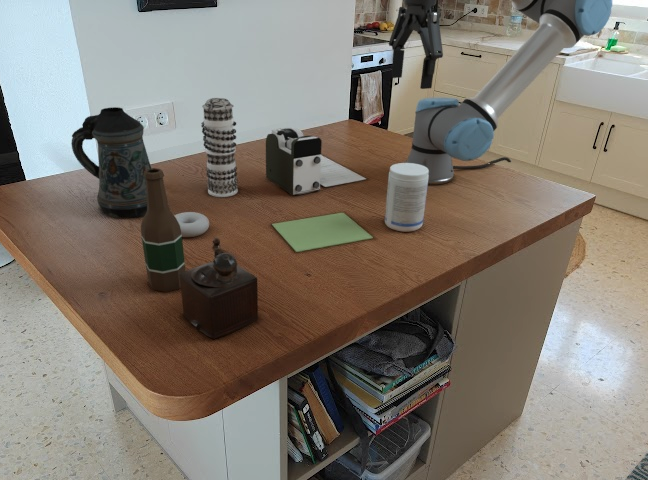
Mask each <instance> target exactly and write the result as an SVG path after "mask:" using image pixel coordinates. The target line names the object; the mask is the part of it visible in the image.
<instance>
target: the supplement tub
mask: <svg viewBox="0 0 648 480" xmlns="http://www.w3.org/2000/svg"><path fill="white" fill-rule="evenodd" d="M428 173H429V170H428V168H427V167H425V166H423V165H419V164H414V163H406V162H400V163H394V164H392V165H390V167H389V172H388V180H387V191H386V202H385V213H384V224H385V226H386V227H388V229H391V230H394V231H397V232H402V233H403V232H405V233H406V232H409V233H410V232H415V231H418V230H420V229H421V228H422V226H423V224H424V218H425V209H426V203H427V194H428V187H429V184H428V177H429V175H428Z"/></svg>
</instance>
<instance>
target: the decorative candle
mask: <svg viewBox="0 0 648 480" xmlns="http://www.w3.org/2000/svg"><path fill="white" fill-rule="evenodd" d="M201 107H202V108H203V121H202V122H201V123H200V124H201V125H200V126H201V129H202V130H201V133H202V134H203V136H202V141H203V147H204V153H206V169H205V171H206V177H207V179H206V183H207V185H206V187H207V193H208V194H209V195H210V196H212V197H216V198H217V197H218V198H227V197H228V198H229V197H232V196H235V195H236V194H238V192H239V189H238V187H239V185H238V178H237V176H238V172H237V170H238V167H237V165H236V164H237V163H236V159H235V152H236V151H237V148H236V146H237V143H236V142H235V141H234V140H236V139H237V135H235V134H236V133H237V129H235V128H234V127H235V126H237V122H236V121H235V120H234V116H233V108H234V104H232V103H231V102H230V99H229V100H228V99H227V98H224V97H211V98H209V99H207V100H206V101H205V102H204V104H203V105H202V106H201Z"/></svg>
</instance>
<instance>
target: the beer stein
mask: <svg viewBox="0 0 648 480" xmlns="http://www.w3.org/2000/svg"><path fill="white" fill-rule="evenodd" d="M81 125H82V126H81V127H79V128H78V129H76V130H75V131H73V133H72V135H71V137H72V138H71V143H70V144H71V149H72V153H73V155H74V157H75V158H76V160H77V162H78V163H79V165H81V166H82V167H83V168H84V169H85V170H86V171H87V172H88V173H89V174H91V175H92V176H94V177H95V178H97V179H99V180H98V181H99V183H98V185H99V186H98V191H97V195H96V200H97V203H98V205H99V207H100V210H101V211H102V213H103V215H106V216H108V217H110V218H115V219H135V218H140V217H144V216H145V214H146V212H147V192H146V179H145V177H144V176H143V175H144V171H146V170H147V169H152V168H153V167H152V166H151V163H150V159H149V155H148V151H147V148H146V144H145V142H144V138H143V136H144V128H145V127H144V125H143V124H142V123H141V122H140V121H139V120H138V119H136V118H134V117H133V116H130V115H129V114H128V113H126V111H124V108H122V107H119V106H116V107H114V106H113V107H105V108H102V109H100V112H99V113H98V114H95V115H88V116H87V117H86V118H85V119H84V120H83V123H82V124H81ZM93 139H95V141H96V142H97V155H98V156H97V158H98V165H97V164H96V163H95V162H94V161H92V160H91V159H90V158H89V156H88V155H87V154H86V152H85V150H84V147H83V144H84V141H85V140H86V141H89V140H90V141H91V140H93Z"/></svg>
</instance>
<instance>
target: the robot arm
mask: <svg viewBox="0 0 648 480" xmlns="http://www.w3.org/2000/svg"><path fill="white" fill-rule="evenodd" d="M509 2H511V6H512V7H513V8H514V9H515V10H517V11H518V12H520V13H521V14H523V15H524V16H526V17H528V18H529V19H531V20H533V21H534V22H535V23H537V24H538V27H537V28H536V29H535V31H533V32H532V34H531V35H530V36H529V37H528V38H527V40H525V41H524V43H523V44H522V45H521V46H520V47H519V48H518V49H517V50H516V51H515V52H514V54H513V55H512V56H511V57H509V59H507V61H506V62H505V63H504V65H502V67H500V69H499V70H498V71H497V72H496V73H495V74H494V75H493V76H492V77H491V78H490V79H489V80H488V81H487V83H486V84H485V85H484V86H483V87H482V88H481V90H479V91H478V93H477V94H476V95H475V96H473V97H466V98H464V100H463V101H461V103H460V101H459V99H458V98H454V97H426V98H425V97H424V98H422V99H420V100H418V101H417V105H416V108H415V112H414V114H415V117H414V126H413V133H412V135H413V136H412V141H411V150H410V151H409V155H408V156H407V159H406V160H405V163H414V164H419V165H423V166H425V167H427V168H428V170H429V173H428V175H429V177H428V185H444V184H448V183H450V182H452V181H453V180H454V172H455V170H477V169H483V168H487V167H490V166H492V165H493V164H497V163H500V162H503V161H506V162H507V163H512V160H511V159H510V158H509V157H506V156H504V157H499V158H497V159H494V160H490V161H489V162H487V163H484V164H479V165H454V164H453V159H455V160H459V161H463V162H471V161H474V160H477V159H479V158H481V157H482V156H484V155H485V154H486V153H487V152H488V151H489V149H490V148H491V146H492V144H493V139H494V137H495V131H496V130H497V129H498V126H499V125H498V124H499V123H498V120H499V118H500V117H501V116H502V115H503V114H504V113H505V112H506V111H507V109H509V107H510V106H511V105H512V104H514V102H515V101H516V100H517V99H518V98H519V97H520V96H521V95H522V94H523V92H525V90H526V89H528V87H529V86H530V85H532V83H533V82H534V81H535V80H536V79H537V78H538V77H539V75H540V74H542V72H543V71H544V70H545V69H546V68H547V67H548V66H549V65H550V64H551V63H552V62H553V60H555V58H556V57H558V55H559V54H560V53H561V52H562V51H563V50H564V49H571V48H573V47H575V46H576V45H577V43H579V41H581V39H583V37H584V36H587V37H590V36H594V35H596V34H598V33H600V32H601V31H602V30H603V29H604V27H606V25H607V23H608V22H609V20H610V17H611V15H612V7H613V0H509ZM403 4H404V5H405V6H400V7H399V8H398V11H397V12H398V13H397V18H396V20H395V24H394V25H393V26H394V27H393V29H392V32H391V35H390V38H389V41H388V46H389V47H391V49H392V50H393V51H392V53H393V54H392V63H391V64H392V65H391V75H390V78H392V79H399V78H402V77H403V69H404V60H405V59H404V58H405V49H406V48H405V45H406V43H407V42H408V40H409V38H410V36H411V35H412V33H413V31H414V32H416V33H417V34H418V35H419V36H420V40H421V44H422V48H423V52H424V55H425V57H424V58H423V63H422V70H421V71H422V72H421V79H420V86H419V87H420V89H421V90H427V89H433V88H432V86H433V80H434V79H433V78H434V75H435V69H436V62H437V60H438V59H441V58H442V59H443V57H444V52H443V44H442V35H441V28H440V27H441V26H440V17H441V16H440V15H441V13H440V12H439V11H432V7H434V6H435V5H436V4H437V0H403ZM452 158H453V159H452ZM488 163H490V164H488Z"/></svg>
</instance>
